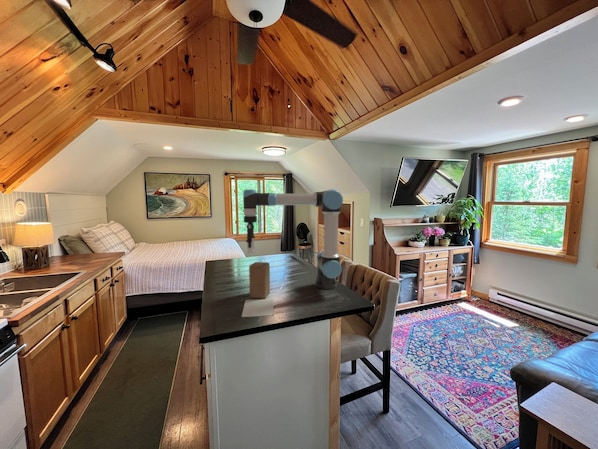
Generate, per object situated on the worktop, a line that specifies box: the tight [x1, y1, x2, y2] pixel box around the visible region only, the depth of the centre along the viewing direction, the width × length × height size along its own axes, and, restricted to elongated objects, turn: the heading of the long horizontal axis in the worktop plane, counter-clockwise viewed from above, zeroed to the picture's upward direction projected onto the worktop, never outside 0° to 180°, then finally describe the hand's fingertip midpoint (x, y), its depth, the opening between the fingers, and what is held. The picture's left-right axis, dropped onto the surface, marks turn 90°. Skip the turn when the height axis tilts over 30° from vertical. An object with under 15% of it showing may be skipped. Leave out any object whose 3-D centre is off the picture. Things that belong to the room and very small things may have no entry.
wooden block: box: [248, 261, 271, 299], centre depth 152 cm, size 10×10×20 cm
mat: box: [241, 298, 274, 318], centre depth 136 cm, size 16×21×1 cm
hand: (250, 250), depth 151 cm, fingers open, 13 cm apart
